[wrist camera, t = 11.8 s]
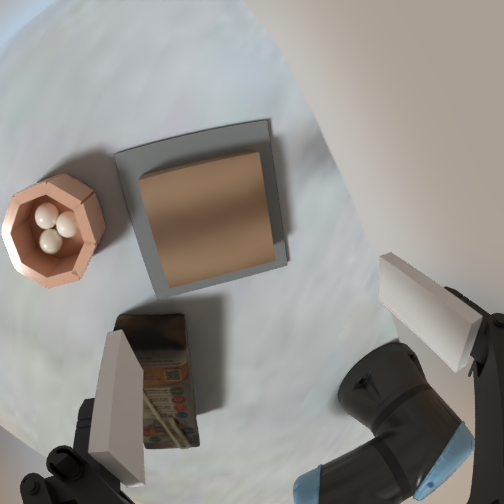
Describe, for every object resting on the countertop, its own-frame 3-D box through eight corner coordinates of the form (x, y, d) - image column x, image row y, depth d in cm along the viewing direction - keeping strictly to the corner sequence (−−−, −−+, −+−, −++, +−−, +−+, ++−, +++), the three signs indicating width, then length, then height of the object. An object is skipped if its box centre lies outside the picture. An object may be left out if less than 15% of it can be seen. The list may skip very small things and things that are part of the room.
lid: (266, 248, 31) (275, 260, 29) (169, 273, 30) (169, 288, 27) (250, 149, 27) (259, 152, 25) (141, 174, 26) (137, 180, 23)
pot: (115, 250, 28) (106, 272, 24) (42, 271, 27) (27, 294, 22) (89, 163, 24) (74, 170, 20) (14, 192, 23) (-9, 204, 19)
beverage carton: (142, 418, 38) (143, 455, 32) (113, 311, 31) (105, 349, 25) (196, 415, 40) (202, 451, 34) (185, 307, 33) (190, 345, 27)
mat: (285, 263, 33) (287, 265, 33) (157, 296, 31) (157, 299, 31) (264, 120, 27) (266, 120, 26) (114, 153, 25) (113, 154, 24)
